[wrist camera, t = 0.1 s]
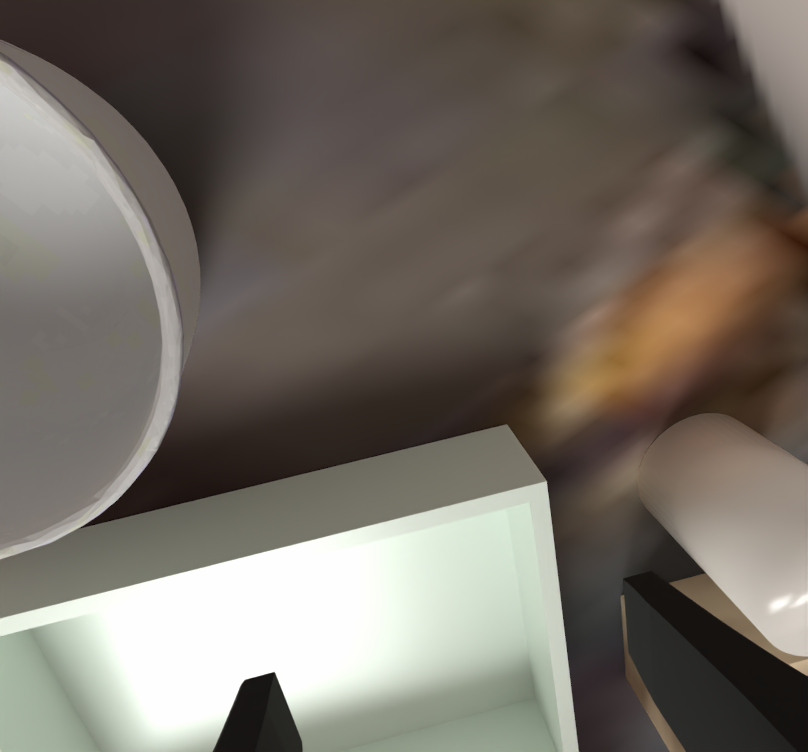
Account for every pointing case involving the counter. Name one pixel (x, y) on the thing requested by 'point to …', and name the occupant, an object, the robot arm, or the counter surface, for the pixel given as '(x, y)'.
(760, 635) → the oak cube
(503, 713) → the tote
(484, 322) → the counter surface
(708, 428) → the white canister
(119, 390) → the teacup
